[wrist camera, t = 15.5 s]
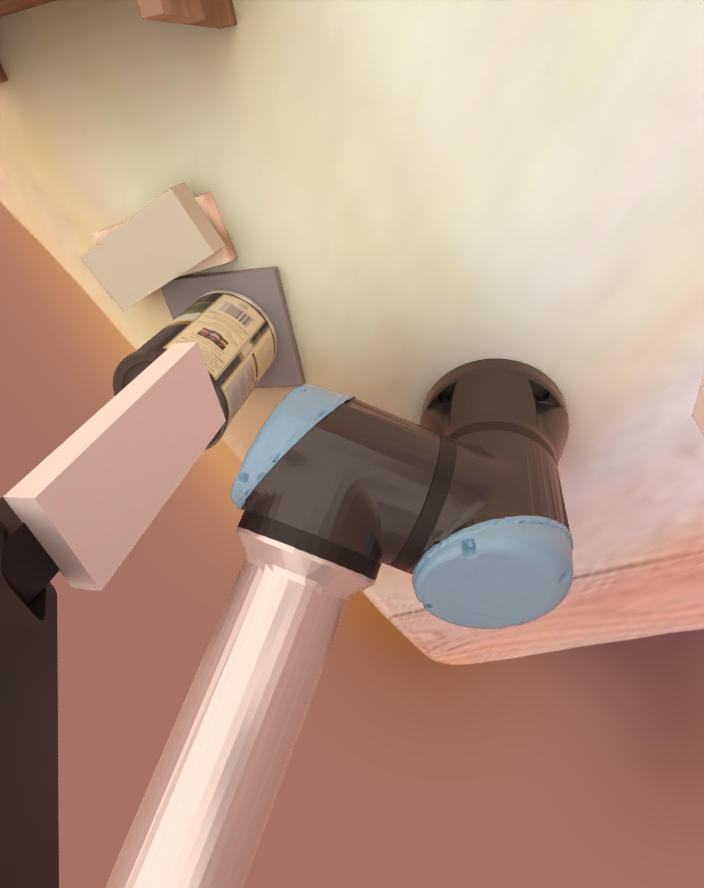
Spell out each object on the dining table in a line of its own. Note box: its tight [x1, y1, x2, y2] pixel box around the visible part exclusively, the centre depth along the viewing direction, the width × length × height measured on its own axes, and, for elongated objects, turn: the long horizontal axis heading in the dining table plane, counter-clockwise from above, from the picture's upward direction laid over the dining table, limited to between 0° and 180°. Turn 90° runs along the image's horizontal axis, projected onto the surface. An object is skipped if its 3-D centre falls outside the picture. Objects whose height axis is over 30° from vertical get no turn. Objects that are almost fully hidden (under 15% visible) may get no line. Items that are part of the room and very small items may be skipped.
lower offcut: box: [92, 192, 237, 277], centre depth 49 cm, size 6×13×2 cm, turn 107°
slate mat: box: [161, 267, 305, 388], centre depth 54 cm, size 13×13×1 cm
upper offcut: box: [80, 183, 225, 311], centre depth 47 cm, size 6×13×2 cm, turn 120°
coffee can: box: [113, 290, 278, 450], centre depth 48 cm, size 10×10×14 cm
